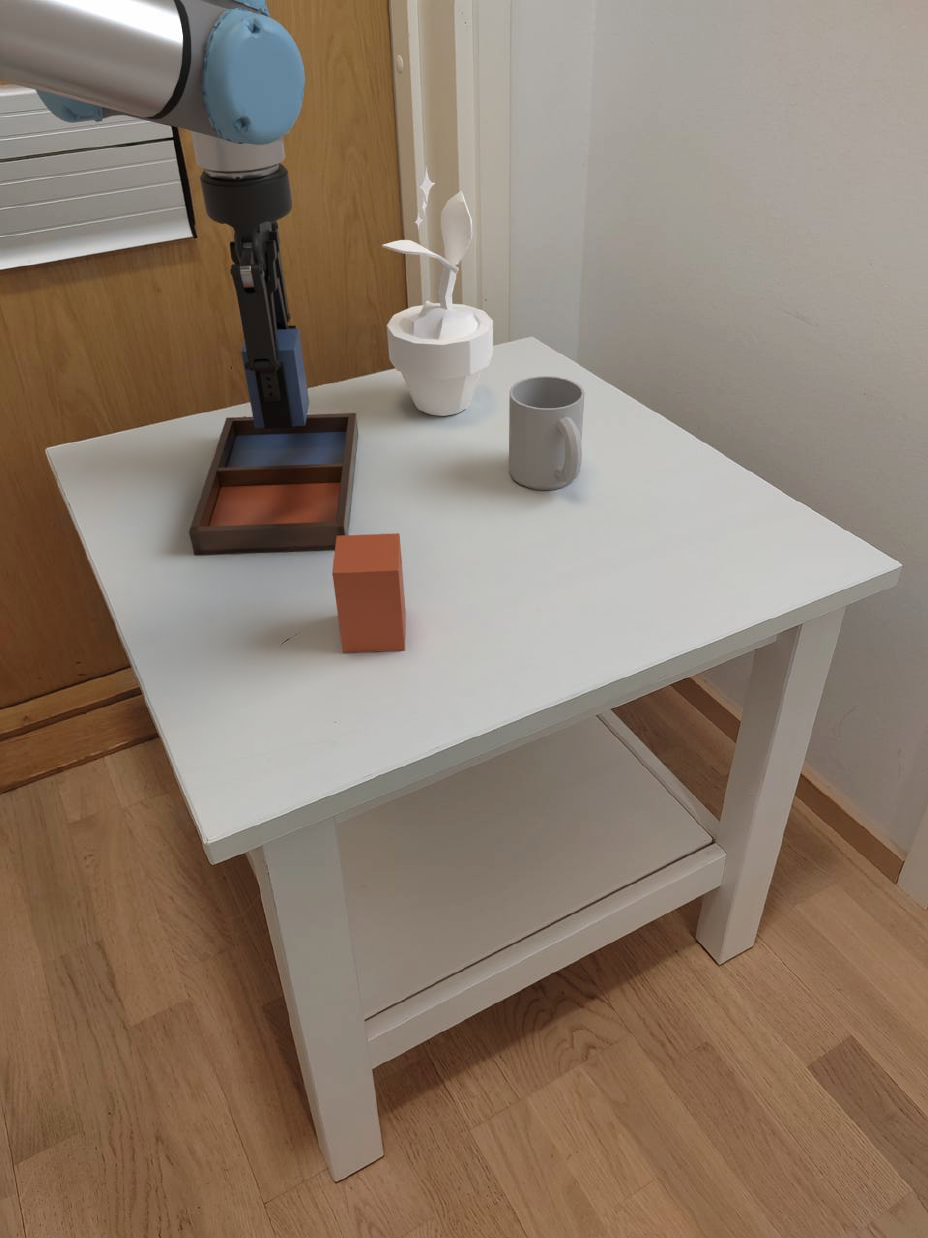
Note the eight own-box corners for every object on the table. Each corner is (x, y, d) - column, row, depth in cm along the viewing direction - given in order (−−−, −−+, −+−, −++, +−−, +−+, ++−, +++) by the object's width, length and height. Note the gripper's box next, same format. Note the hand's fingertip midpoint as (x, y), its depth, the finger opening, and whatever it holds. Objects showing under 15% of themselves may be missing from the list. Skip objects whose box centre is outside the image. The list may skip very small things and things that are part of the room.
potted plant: (456, 373, 116) (450, 151, 100) (513, 409, 109) (516, 175, 93) (366, 402, 111) (344, 171, 95) (418, 441, 103) (405, 199, 87)
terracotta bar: (342, 653, 77) (332, 573, 72) (346, 614, 80) (336, 535, 75) (405, 650, 77) (398, 570, 72) (405, 611, 81) (399, 533, 76)
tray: (194, 555, 88) (188, 531, 86) (230, 438, 105) (226, 417, 103) (346, 549, 88) (344, 525, 86) (358, 434, 105) (355, 412, 103)
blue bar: (254, 428, 95) (240, 351, 90) (261, 404, 99) (248, 330, 94) (305, 425, 95) (294, 349, 90) (309, 402, 99) (299, 328, 94)
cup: (557, 449, 101) (561, 370, 96) (606, 494, 94) (613, 412, 89) (496, 464, 99) (496, 384, 93) (542, 511, 92) (545, 428, 86)
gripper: (274, 195, 75) (311, 456, 90) (296, 139, 89) (325, 372, 104) (179, 199, 75) (231, 459, 90) (216, 142, 89) (256, 375, 104)
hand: (281, 412), depth 97 cm, fingers closed on blue bar, 5 cm apart
